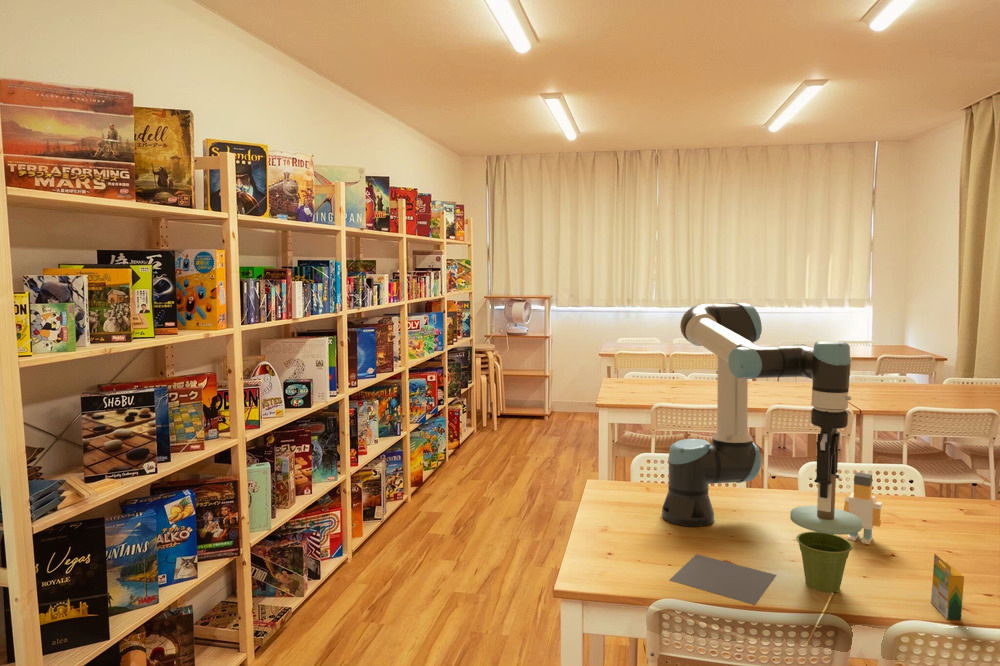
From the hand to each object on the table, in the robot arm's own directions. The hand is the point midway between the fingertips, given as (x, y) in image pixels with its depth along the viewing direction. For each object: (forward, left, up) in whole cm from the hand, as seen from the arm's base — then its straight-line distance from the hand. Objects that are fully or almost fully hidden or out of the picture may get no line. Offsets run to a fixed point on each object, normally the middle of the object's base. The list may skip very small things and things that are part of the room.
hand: (825, 507), depth 153 cm
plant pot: (0, 0, -20) cm, 20 cm away
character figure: (+2, +37, -20) cm, 42 cm away
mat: (-20, -10, -19) cm, 30 cm away
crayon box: (+24, +4, -20) cm, 31 cm away
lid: (0, 0, -3) cm, 3 cm away
